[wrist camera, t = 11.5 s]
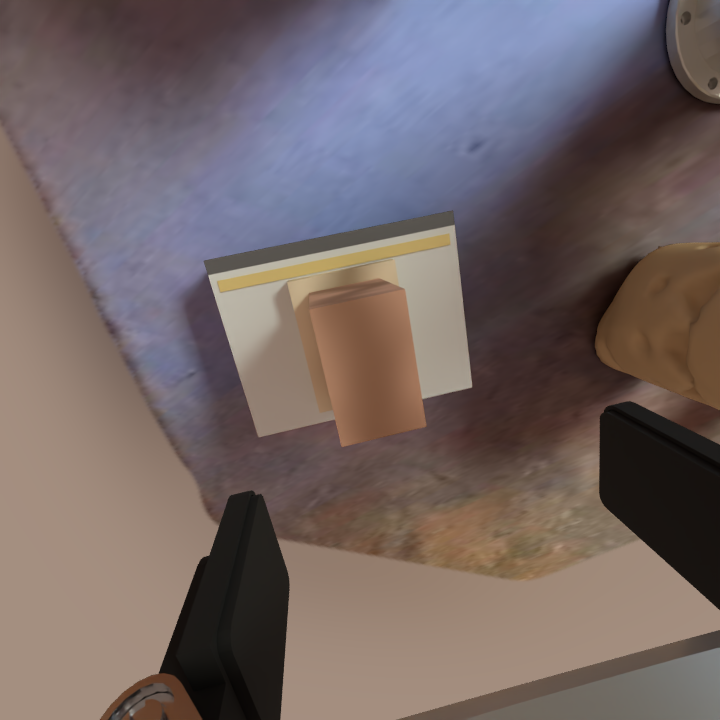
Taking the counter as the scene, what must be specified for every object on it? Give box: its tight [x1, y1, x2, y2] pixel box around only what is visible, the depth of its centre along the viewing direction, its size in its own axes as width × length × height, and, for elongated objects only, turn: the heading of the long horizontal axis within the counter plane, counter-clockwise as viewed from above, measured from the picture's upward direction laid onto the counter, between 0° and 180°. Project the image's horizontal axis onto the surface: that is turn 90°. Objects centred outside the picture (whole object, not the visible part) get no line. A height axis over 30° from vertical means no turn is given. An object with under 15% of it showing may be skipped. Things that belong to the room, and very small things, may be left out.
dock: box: [204, 211, 472, 437], centre depth 31 cm, size 18×14×5 cm
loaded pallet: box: [287, 259, 426, 447], centre depth 25 cm, size 8×10×9 cm
